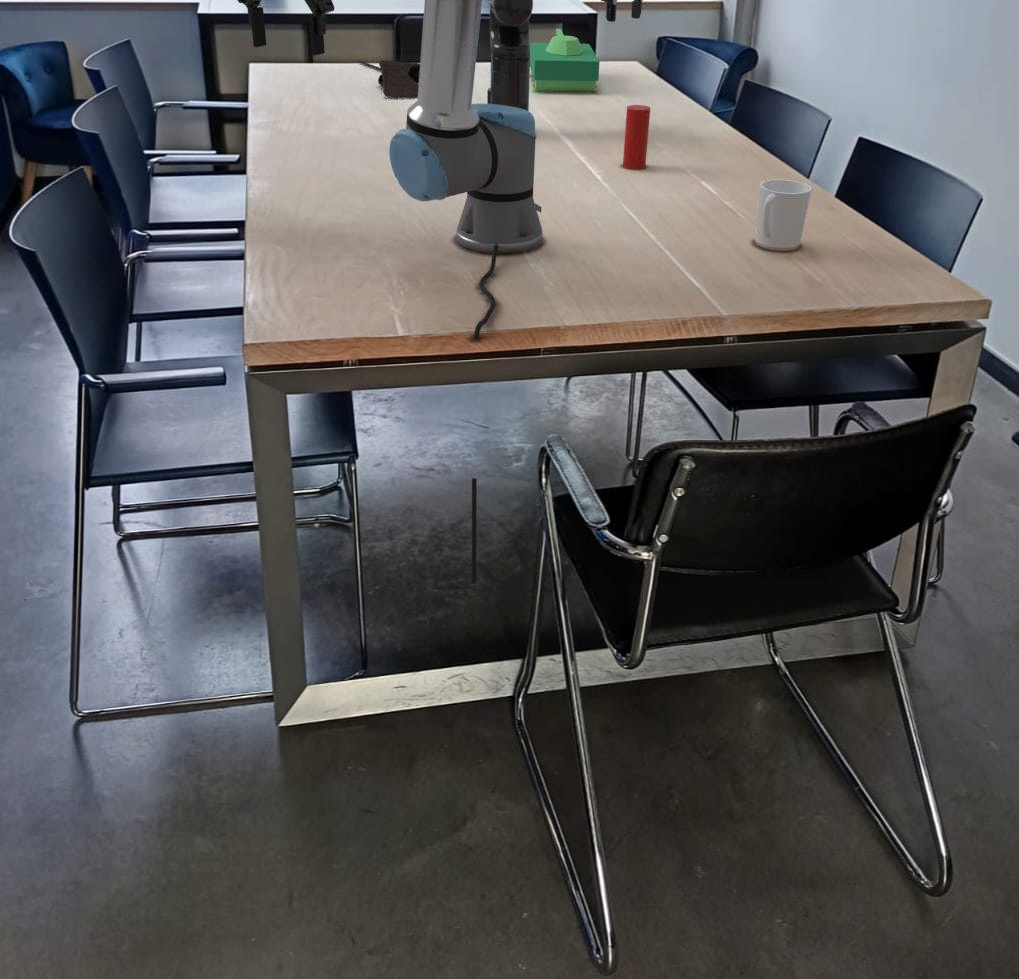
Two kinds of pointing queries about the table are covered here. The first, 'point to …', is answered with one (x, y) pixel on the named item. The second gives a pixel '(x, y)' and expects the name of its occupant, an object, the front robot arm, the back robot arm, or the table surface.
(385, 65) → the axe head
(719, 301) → the table surface
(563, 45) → the toy tank
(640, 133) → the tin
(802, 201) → the mug
